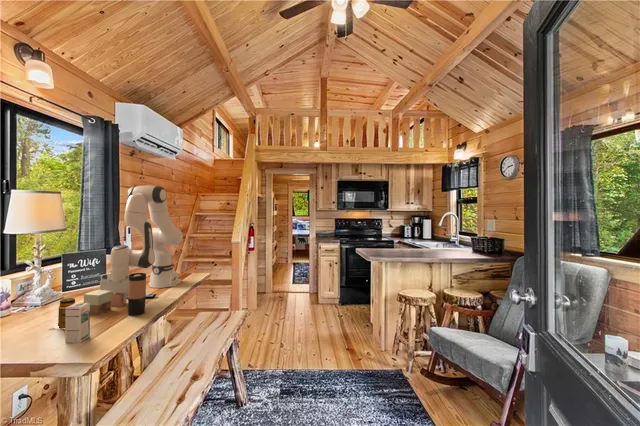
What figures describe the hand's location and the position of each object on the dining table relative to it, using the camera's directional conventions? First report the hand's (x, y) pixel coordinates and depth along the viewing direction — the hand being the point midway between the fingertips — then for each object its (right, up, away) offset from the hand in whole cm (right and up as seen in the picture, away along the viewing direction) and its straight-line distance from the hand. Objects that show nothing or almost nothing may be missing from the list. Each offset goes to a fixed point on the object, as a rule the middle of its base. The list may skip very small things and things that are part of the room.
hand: (118, 300), depth 165 cm
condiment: (-4, -3, -30) cm, 30 cm away
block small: (0, -2, 0) cm, 2 cm away
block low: (-3, -2, -12) cm, 12 cm away
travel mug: (+17, -3, -12) cm, 21 cm away
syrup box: (+11, -4, -42) cm, 44 cm away
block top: (-3, +3, -12) cm, 12 cm away
